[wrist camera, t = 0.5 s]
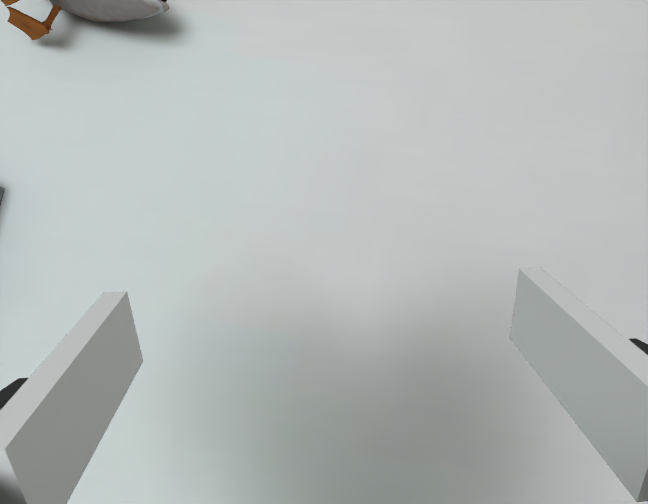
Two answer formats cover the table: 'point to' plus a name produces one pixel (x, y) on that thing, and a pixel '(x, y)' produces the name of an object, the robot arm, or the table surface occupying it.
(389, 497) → the table surface
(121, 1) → the decorative duck model
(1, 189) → the button panel
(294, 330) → the table surface
